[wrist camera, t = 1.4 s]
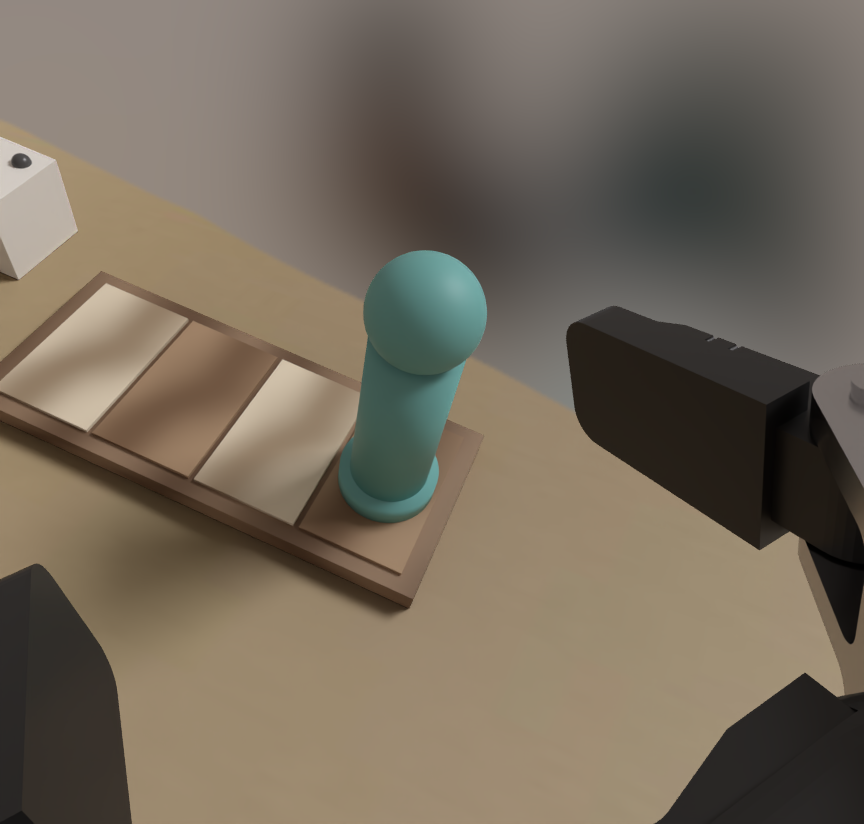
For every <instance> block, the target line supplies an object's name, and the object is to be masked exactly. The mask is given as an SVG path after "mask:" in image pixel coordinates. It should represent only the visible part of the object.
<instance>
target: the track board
mask: <svg viewBox="0 0 864 824" xmlns="http://www.w3.org/2000/svg"><path fill="white" fill-rule="evenodd" d="M360 390H361V382H358V381H356V380H354V379H352V378H349V377H347V376H345V375H342V374H340V373H338V372H335V371H333V370H331V369H328V368H326V367H324V366H321V365H319V364H317V363H314V362H312V361H310V360H307V359H305V358H303V357H300V356H298V355H296V354H293V353H291V352H289V351H286V350H284V349H282V348H279V347H277V346H275V345H272V344H270V343H268V342H265V341H263V340H261V339H258V338H256V337H254V336H251V335H249V334H247V333H244V332H242V331H240V330H237V329H235V328H233V327H230V326H228V325H226V324H223V323H221V322H219V321H216V320H214V319H212V318H209V317H207V316H205V315H202V314H200V313H198V312H195V311H193V310H191V309H188V308H186V307H184V306H182V305H179V304H177V303H175V302H172V301H170V300H168V299H165V298H163V297H161V296H158V295H156V294H154V293H151V292H149V291H147V290H144V289H142V288H140V287H137V286H135V285H133V284H130V283H128V282H126V281H123V280H121V279H119V278H116V277H114V276H112V275H109V274H107V273H105V272H102V271H101V272H100V273H99V274H97V275H96V276H95V277H94V278H93V279H92V280H91V281H90V282H89V283H87V284H86V285H85V286H84V287H83V288H82V289H81V290H80V291H79V292H78V293H76V294H75V295H74V296H73V297H72V298H71V299H70V300H69V301H68V302H66V303H65V304H64V305H63V306H62V307H61V308H60V309H59V310H58V311H56V312H55V313H54V314H53V315H52V316H51V317H50V318H49V319H48V320H46V321H45V322H44V323H43V324H42V325H41V326H40V327H39V328H38V329H36V330H35V331H34V332H33V333H32V334H31V335H30V336H29V337H28V338H27V339H25V340H24V341H23V342H22V343H21V344H20V345H19V346H18V347H17V348H15V349H14V350H13V351H12V352H11V353H10V354H9V355H8V356H7V357H5V358H4V359H3V360H2V361H1V362H0V421H2V422H4V423H7V424H9V425H11V426H13V427H15V428H17V429H20V430H22V431H24V432H26V433H28V434H31V435H33V436H35V437H37V438H39V439H41V440H44V441H46V442H48V443H50V444H52V445H54V446H57V447H59V448H61V449H63V450H65V451H68V452H70V453H72V454H74V455H76V456H78V457H81V458H83V459H85V460H87V461H89V462H91V463H94V464H96V465H98V466H100V467H102V468H105V469H107V470H109V471H111V472H113V473H115V474H118V475H120V476H122V477H124V478H126V479H128V480H131V481H133V482H135V483H137V484H139V485H141V486H144V487H146V488H148V489H150V490H152V491H155V492H157V493H159V494H161V495H163V496H165V497H168V498H170V499H172V500H174V501H176V502H178V503H181V504H183V505H185V506H187V507H189V508H192V509H194V510H196V511H198V512H200V513H202V514H205V515H207V516H209V517H211V518H213V519H215V520H218V521H220V522H222V523H224V524H226V525H229V526H231V527H233V528H235V529H237V530H239V531H242V532H244V533H246V534H248V535H250V536H252V537H255V538H257V539H259V540H261V541H263V542H265V543H268V544H270V545H272V546H274V547H276V548H279V549H281V550H283V551H285V552H287V553H289V554H292V555H294V556H296V557H298V558H300V559H302V560H305V561H307V562H309V563H311V564H313V565H316V566H318V567H320V568H322V569H324V570H326V571H329V572H331V573H333V574H335V575H337V576H339V577H342V578H344V579H346V580H348V581H350V582H353V583H355V584H357V585H359V586H361V587H363V588H366V589H368V590H370V591H372V592H374V593H376V594H379V595H381V596H383V597H385V598H387V599H389V600H392V601H394V602H396V603H398V604H400V605H403V606H405V607H407V608H410V606H411V603H412V601H413V599H414V597H415V594H416V592H417V590H418V587H419V585H420V583H421V581H422V578H423V576H424V574H425V571H426V569H427V567H428V564H429V562H430V560H431V558H432V555H433V553H434V551H435V548H436V546H437V544H438V542H439V539H440V537H441V535H442V532H443V530H444V528H445V525H446V523H447V521H448V519H449V516H450V514H451V512H452V509H453V507H454V505H455V503H456V500H457V498H458V496H459V493H460V491H461V489H462V487H463V484H464V482H465V480H466V477H467V475H468V473H469V470H470V468H471V466H472V464H473V461H474V459H475V457H476V454H477V452H478V450H479V448H480V445H481V443H482V440H483V438H484V435H482V434H480V433H477V432H475V431H473V430H470V429H468V428H466V427H463V426H461V425H459V424H456V423H454V422H452V421H449V420H446V423H445V426H444V429H443V432H442V435H441V438H440V442H439V445H438V448H437V451H436V454H435V456H436V458H437V461H438V466H439V476H438V481H437V484H436V487H435V490H434V493H433V495H432V498H431V500H430V502H429V504H428V505H427V506H426V508H425V509H424V510H423V511H422V512H420V513H419V514H418V515H416V516H415V517H413V518H411V519H408V520H406V521H402V522H397V523H381V522H376V521H372V520H370V519H367V518H365V517H363V516H361V515H359V514H358V513H357V512H355V511H354V510H353V509H352V508H351V507H350V506H349V505H348V504H347V503H346V501H345V500H344V498H343V496H342V494H341V492H340V488H339V484H338V472H339V464H340V457H341V454H342V451H343V449H344V447H345V446H346V444H347V443H348V442H349V441H350V439H351V438H353V437H354V433H355V426H356V419H357V412H358V404H359V397H360Z"/></svg>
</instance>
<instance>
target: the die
mask: <svg viewBox="0 0 864 824" xmlns="http://www.w3.org/2000/svg"><path fill="white" fill-rule="evenodd" d="M76 232H78V230H77V226H76V223H75V220H74V217H73V213H72V210H71V207H70V204H69V200H68V197H67V194H66V191H65V187H64V184H63V181H62V178H61V175H60V171H59V168H58V165H57V162H56V160H55V159H52V158H50V157H48V156H45V155H43V154H40V153H38V152H36V151H33V150H31V149H28V148H26V147H24V146H21V145H19V144H16V143H14V142H12V141H9V140H7V139H4V138H2V137H0V272H2V273H4V274H6V275H9V276H11V277H13V278H16V279H18V280H19V279H20V278H22V277H23V276H24V275H25V274H27V273H28V272H29V271H30V270H31V269H33V268H34V267H35V266H36V265H37V264H39V263H40V262H41V261H42V260H44V259H45V258H46V257H47V256H48V255H50V254H51V253H52V252H53V251H54V250H56V249H57V248H58V247H59V246H61V245H62V244H63V243H64V242H65V241H67V240H68V239H69V238H70V237H71V236H73V235H74V234H75V233H76Z"/></svg>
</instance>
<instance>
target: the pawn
mask: <svg viewBox="0 0 864 824" xmlns="http://www.w3.org/2000/svg"><path fill="white" fill-rule="evenodd" d="M363 314H364V324H365V329H366V332H367V335H368V341H367V348H366V355H365V362H364V369H363V376H362V383H361V390H360V397H359V404H358V412H357V419H356V426H355V433H354V437H353V438H351V439H350V441H349V442H348V443H347V444H346V446H345V447H344V449H343V451H342V454H341V457H340V464H339V472H338V484H339V488H340V492H341V494H342V496H343V498H344V500H345V501H346V503H347V504H348V505H349V506H350V507H351V508H352V509H353V510H354V511H355V512H357V513H358V514H359V515H361V516H363V517H365V518H367V519H370V520H372V521H376V522H381V523H397V522H402V521H406V520H408V519H411V518H413V517H415V516H416V515H418V514H419V513H420V512H422V511H423V510H424V509H425V508H426V506H427V505H428V504H429V502H430V500H431V498H432V495H433V493H434V490H435V487H436V484H437V481H438V476H439V466H438V461H437V458H436V456H435V454H436V451H437V448H438V445H439V442H440V438H441V435H442V432H443V429H444V426H445V423H446V420H447V417H448V414H449V411H450V408H451V405H452V402H453V399H454V395H455V392H456V389H457V386H458V383H459V380H460V377H461V374H462V371H463V368H464V365H465V362H466V359H467V358H468V357H469V356H470V355H471V354H472V353H473V352H474V350H475V349H476V347H477V346H478V344H479V342H480V340H481V338H482V336H483V333H484V329H485V326H486V319H487V307H486V300H485V296H484V293H483V290H482V288H481V285H480V283H479V282H478V280H477V278H476V277H475V276H474V274H473V273H472V272H471V271H470V270H469V269H468V268H467V267H466V266H465V265H464V264H463V263H462V262H460V261H459V260H457V259H455V258H453V257H451V256H449V255H447V254H444V253H440V252H436V251H414V252H409V253H406V254H404V255H401V256H399V257H397V258H395V259H393V260H392V261H390V262H389V263H387V264H386V265H385V266H384V267H383V268H382V269H381V270H380V271H379V272H378V273H377V274H376V276H375V278H374V279H373V280H372V282H371V284H370V286H369V288H368V291H367V293H366V297H365V301H364V311H363Z"/></svg>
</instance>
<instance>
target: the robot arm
mask: <svg viewBox="0 0 864 824" xmlns="http://www.w3.org/2000/svg"><path fill="white" fill-rule="evenodd" d="M566 341H567V350H568V358H569V366H570V374H571V382H572V390H573V398H574V406H575V412H576V415H577V418H578V421H579V423H580V425H581V427H582V428H583V430H584V431H585V433H586V434H587V435H588V437H589V438H590V439H591V440H592V441H593V442H595V443H596V444H598V445H599V446H601V447H602V448H604V449H605V450H607V451H608V452H610V453H611V454H613V455H614V456H616V457H618V458H619V459H621V460H622V461H624V462H625V463H627V464H628V465H630V466H631V467H633V468H634V469H636V470H637V471H639V472H640V473H642V474H644V475H645V476H647V477H648V478H650V479H651V480H653V481H654V482H656V483H657V484H659V485H660V486H662V487H663V488H665V489H667V490H668V491H670V492H671V493H673V494H674V495H676V496H677V497H679V498H680V499H682V500H683V501H685V502H686V503H688V504H689V505H691V506H693V507H694V508H696V509H697V510H699V511H700V512H702V513H703V514H705V515H706V516H708V517H709V518H711V519H712V520H714V521H716V522H717V523H719V524H720V525H722V526H723V527H725V528H726V529H728V530H729V531H731V532H732V533H734V534H735V535H737V536H738V537H740V538H742V539H743V540H745V541H746V542H748V543H749V544H751V545H752V546H754V547H755V548H757V549H758V550H761V549H762V548H764V547H766V546H767V545H769V544H770V543H772V542H773V541H775V540H777V539H778V538H780V537H781V536H783V535H784V534H786V533H788V532H789V531H790V532H792V533H793V534H795V535H797V536H798V537H799V545H798V555H799V559H800V562H801V565H802V567H803V570H804V573H805V575H806V578H807V581H808V583H809V586H810V589H811V591H812V594H813V597H814V599H815V602H816V605H817V607H818V610H819V613H820V615H821V618H822V620H823V623H824V626H825V628H826V631H827V634H828V636H829V639H830V642H831V644H832V647H833V650H834V652H835V655H836V658H837V660H838V663H839V666H840V670H841V674H842V678H843V684H844V692H845V695H844V696H840V697H836V696H835V695H833V694H832V693H831V692H829V691H828V690H827V689H826V688H824V687H823V686H822V685H820V684H819V683H818V682H817V681H815V680H814V679H813V678H811V677H810V676H809V675H808V674H806V673H804V674H802V675H801V676H800V677H798V678H797V679H796V680H794V681H793V682H791V683H790V684H789V685H787V686H786V687H785V688H783V689H782V690H780V691H779V692H778V693H776V694H775V695H774V696H772V697H771V698H769V699H768V700H767V701H765V702H764V703H763V704H761V705H760V706H758V707H757V708H756V709H754V710H753V711H752V712H750V713H749V714H747V715H746V716H745V717H743V718H742V719H740V720H739V721H738V722H736V723H735V724H734V725H732V726H731V727H729V728H728V729H727V730H726V731H725V733H724V734H723V736H722V737H721V738H720V740H719V741H718V743H717V744H716V745H715V747H714V748H713V750H712V751H711V752H710V754H709V755H708V757H707V758H706V759H705V761H704V762H703V764H702V765H701V766H700V768H699V769H698V771H697V772H696V774H695V775H694V776H693V778H692V779H691V781H690V782H689V783H688V785H687V786H686V788H685V789H684V790H683V792H682V793H681V795H680V796H679V797H678V799H677V800H676V802H675V803H674V804H673V806H672V807H671V809H670V810H669V811H668V813H667V814H666V815H665V816H664V817H663V818H662V819H661V820H659V821H658V822H657V823H655V824H864V363H863V364H852V365H846V366H842V367H838V368H835V369H832V370H829V371H828V372H825V373H824V374H822V375H821V376H820V375H817V374H814V373H812V372H809V371H806V370H804V369H801V368H798V367H796V366H793V365H790V364H788V363H785V362H782V361H780V360H777V359H774V358H772V357H769V356H766V355H764V354H761V353H758V352H755V351H753V350H750V349H748V348H745V347H740V348H738V347H737V346H736V344H734V343H731V342H729V341H726V340H724V339H721V338H717V339H714V337H713V335H710V334H708V333H705V332H702V331H699V330H697V329H694V328H692V327H689V326H686V325H680V324H672V323H664V322H657V321H654V320H652V319H649V318H646V317H644V316H641V315H639V314H636V313H634V312H631V311H629V310H626V309H623V308H621V307H617V306H610V307H608V308H606V309H604V310H601V311H599V312H597V313H594V314H592V315H590V316H588V317H586V318H583V319H581V320H579V321H577V322H574V323H573V324H571V325H570V326H569V328H568V330H567V335H566ZM0 824H132V820H131V811H130V802H129V793H128V784H127V775H126V766H125V757H124V748H123V739H122V730H121V721H120V712H119V703H118V694H117V687H116V682H115V678H114V675H113V672H112V669H111V667H110V664H109V662H108V659H107V657H106V655H105V653H104V651H103V649H102V648H101V646H100V644H99V643H98V641H97V640H96V639H95V637H94V636H93V634H92V633H91V631H90V630H89V629H88V627H87V626H86V624H85V623H84V621H83V620H82V619H81V617H80V616H79V614H78V613H77V611H76V610H75V609H74V607H73V606H72V604H71V603H70V601H69V600H68V599H67V597H66V596H65V594H64V593H63V592H62V590H61V589H60V587H59V586H58V584H57V583H56V582H55V580H54V579H53V577H52V576H51V575H50V573H49V572H48V571H47V570H46V569H45V568H44V567H43V566H41V565H40V564H33V565H31V566H29V567H27V568H24V569H22V570H20V571H18V572H15V573H13V574H11V575H9V576H7V577H4V578H2V579H0Z"/></svg>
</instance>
